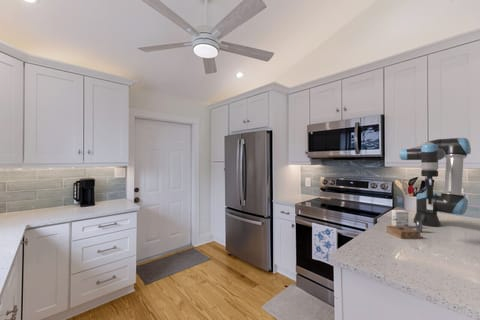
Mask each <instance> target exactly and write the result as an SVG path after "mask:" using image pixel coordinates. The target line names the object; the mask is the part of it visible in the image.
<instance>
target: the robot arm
mask: <svg viewBox="0 0 480 320" xmlns="http://www.w3.org/2000/svg"><path fill="white" fill-rule="evenodd" d="M471 152H472V150H471V144H470V141H469V139H468V138H466V137H453V138H452V137H451V138H438V139H433V140H428V141H426V142H423V143H422V144H420V145H418V146H415V147H412V148H405V149H403V148H402V149H401V150H399V159H400V160H402V161H421V164H419V166H420V167H421V172H420V176H421V177H426V179H424V182H425V188H426V189H427V197H426V192H419V193H417V194H416V198H415V199H416V207H415V208H416V212H415V215H414V218H413V223H415V224H416V221H422V226H425V227H441V222H440V219H439V216H438V212H439V213H444V214H449V215H450V214H452V215H459V216H460V215H462V216H463V215H464V214H465V213H466V212H467V209H468V206H469V199H468V198H466V197H465V196H466V195H464V194H463V193H462V192H463V191H462V190H463V177H464V176H463V171H464V159H465V158H467V157H468V155H470V154H471ZM444 158H445V159H446V160H445V162H446V163H445V173H444V175H445V176H444V186H443V187H444V190H443V192H441V193H440V195H438V193H436V192H434V187H435V186H434V185H435V179H433V177H435V178H437V177H439V161H441V160H443V159H444ZM426 189H425V190H426ZM426 198H427V209H428V210H433V213H428V212H426Z"/></svg>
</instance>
